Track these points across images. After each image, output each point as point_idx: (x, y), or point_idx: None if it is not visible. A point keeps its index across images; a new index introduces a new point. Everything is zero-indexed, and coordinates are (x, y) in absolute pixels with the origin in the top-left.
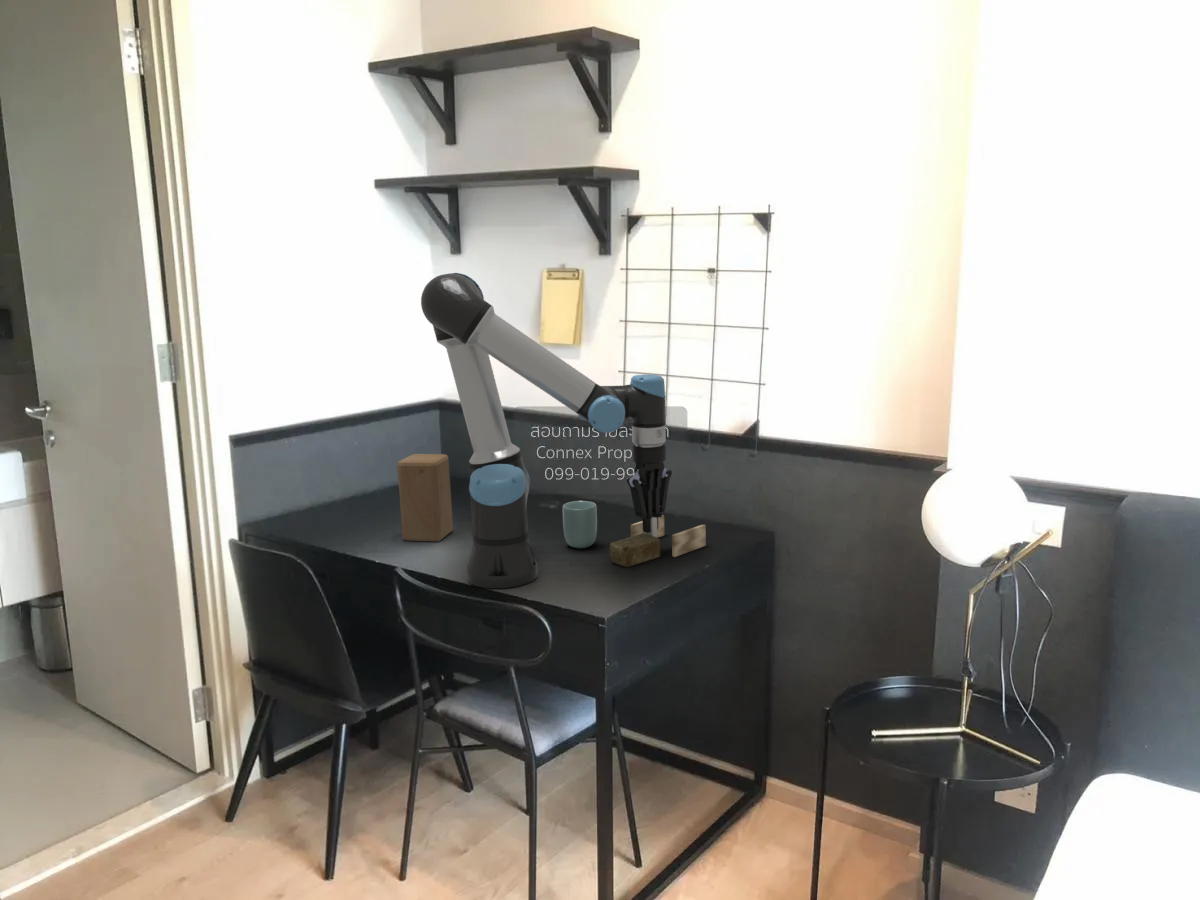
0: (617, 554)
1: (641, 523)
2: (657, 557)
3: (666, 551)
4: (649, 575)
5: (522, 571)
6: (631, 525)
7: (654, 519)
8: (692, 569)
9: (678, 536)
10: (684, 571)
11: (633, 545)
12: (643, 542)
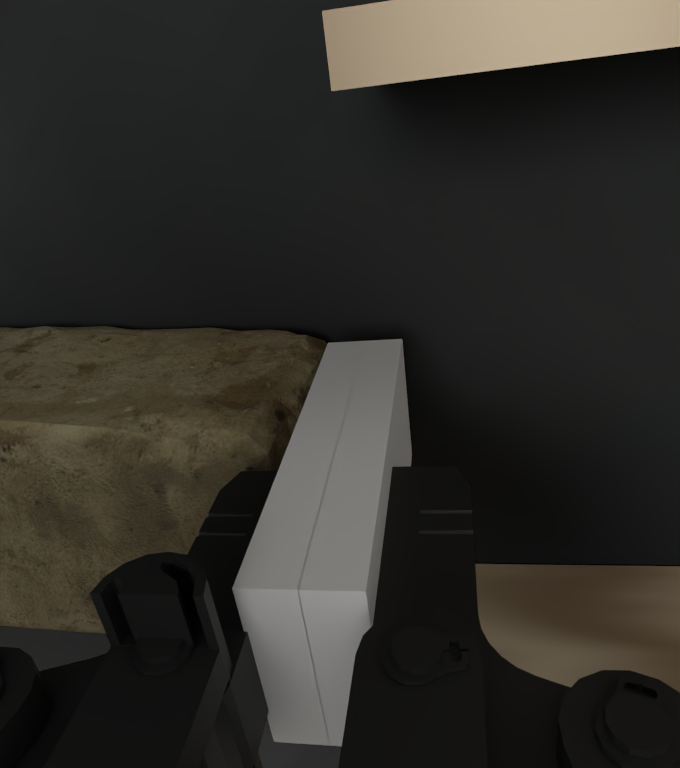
0: None
1: (596, 56)
2: None
3: (487, 456)
4: (51, 659)
5: None
6: (326, 45)
7: (322, 730)
8: (322, 756)
9: None
10: (262, 744)
11: None
12: (73, 628)
